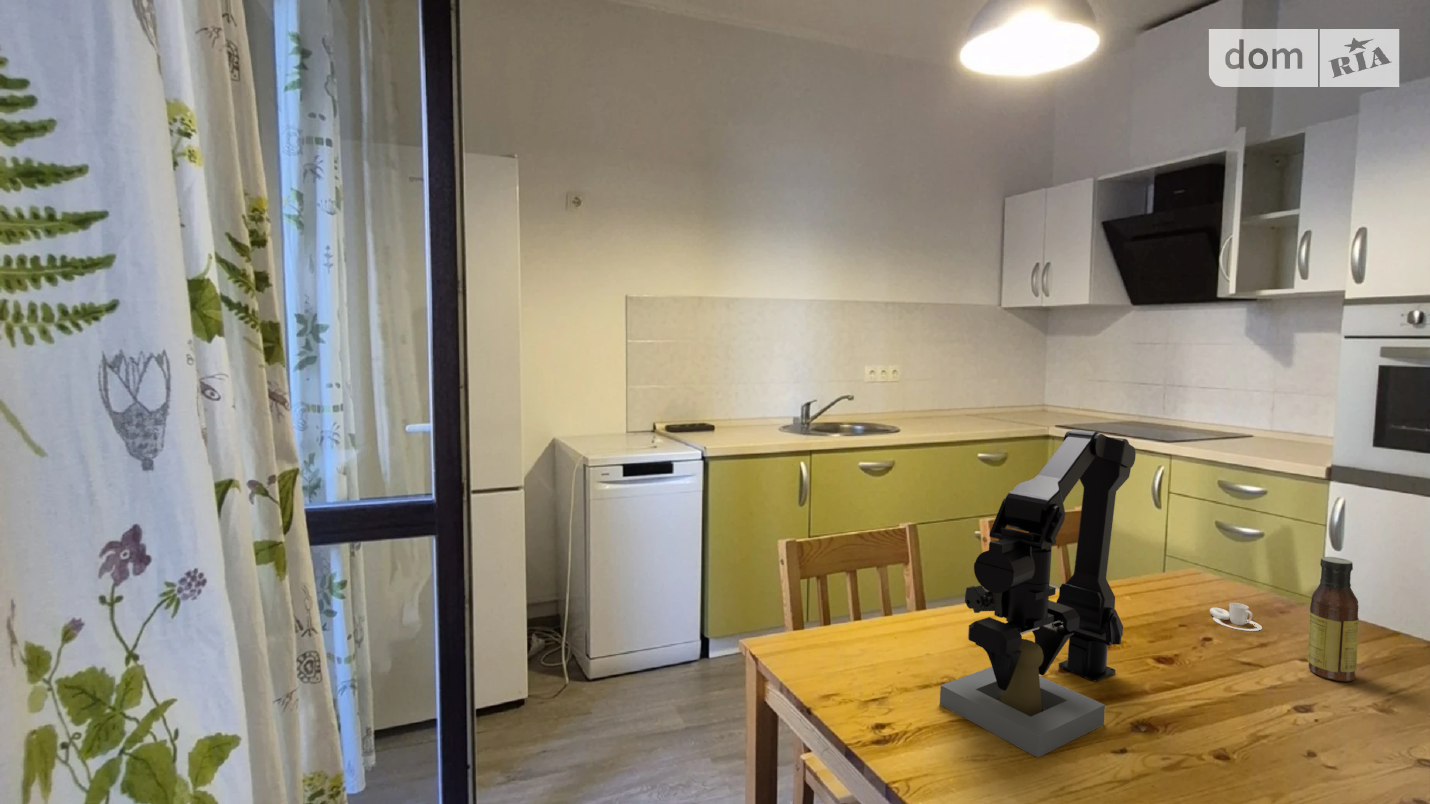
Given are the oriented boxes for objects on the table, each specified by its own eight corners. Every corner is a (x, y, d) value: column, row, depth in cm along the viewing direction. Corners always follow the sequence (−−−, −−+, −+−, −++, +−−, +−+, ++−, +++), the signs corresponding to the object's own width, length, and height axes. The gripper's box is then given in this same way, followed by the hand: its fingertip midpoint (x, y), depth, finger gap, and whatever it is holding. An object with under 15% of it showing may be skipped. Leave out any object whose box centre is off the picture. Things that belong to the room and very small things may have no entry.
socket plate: (1005, 679, 115) (1006, 661, 115) (1103, 724, 101) (1105, 704, 101) (939, 704, 106) (940, 685, 106) (1037, 757, 93) (1039, 735, 93)
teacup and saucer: (1202, 614, 146) (1203, 595, 146) (1244, 617, 145) (1245, 598, 145) (1226, 631, 138) (1228, 611, 138) (1271, 634, 137) (1273, 614, 136)
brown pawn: (1047, 727, 100) (1052, 653, 99) (1002, 722, 101) (1006, 648, 101) (1037, 706, 106) (1041, 636, 105) (994, 701, 107) (998, 631, 106)
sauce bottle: (1346, 671, 121) (1358, 557, 119) (1361, 686, 115) (1373, 568, 113) (1298, 663, 123) (1309, 552, 122) (1311, 678, 118) (1322, 561, 116)
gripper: (1017, 554, 114) (1011, 647, 115) (940, 572, 104) (935, 674, 105) (1084, 573, 105) (1077, 675, 106) (1007, 595, 94) (1000, 707, 96)
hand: (1021, 681), depth 103 cm, fingers open, 9 cm apart
